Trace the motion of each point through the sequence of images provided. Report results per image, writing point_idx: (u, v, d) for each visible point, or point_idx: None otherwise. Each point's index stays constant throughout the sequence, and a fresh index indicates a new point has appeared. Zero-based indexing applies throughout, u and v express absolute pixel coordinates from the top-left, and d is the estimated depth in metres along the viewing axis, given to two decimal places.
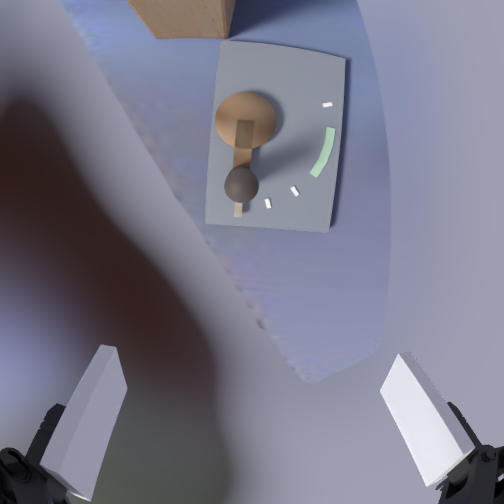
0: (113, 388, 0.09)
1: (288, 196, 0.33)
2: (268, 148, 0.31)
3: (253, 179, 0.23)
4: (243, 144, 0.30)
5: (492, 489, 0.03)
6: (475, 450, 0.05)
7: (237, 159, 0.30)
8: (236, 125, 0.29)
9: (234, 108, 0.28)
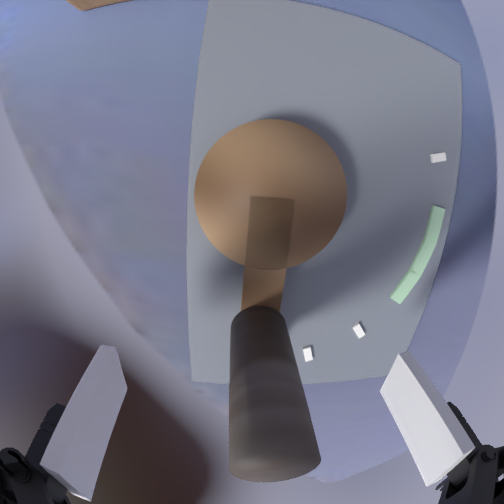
0: (113, 388, 0.09)
1: (346, 338, 0.17)
2: (319, 256, 0.15)
3: (310, 457, 0.07)
4: (266, 259, 0.13)
5: (492, 489, 0.03)
6: (475, 450, 0.05)
7: (252, 292, 0.14)
8: (250, 212, 0.12)
9: (244, 165, 0.11)
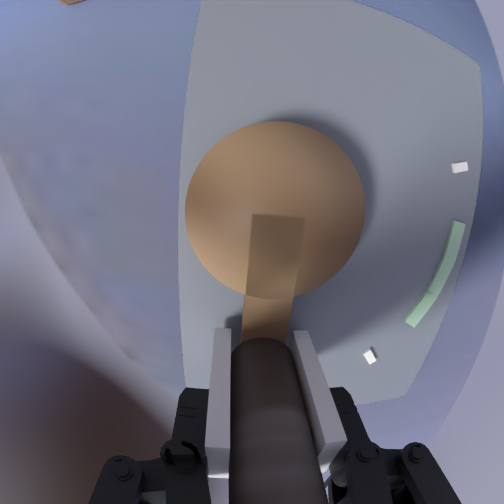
0: None
1: (356, 364, 0.15)
2: (330, 280, 0.13)
3: None
4: (270, 287, 0.11)
5: (388, 491, 0.05)
6: None
7: (253, 323, 0.12)
8: (252, 233, 0.10)
9: (244, 177, 0.10)
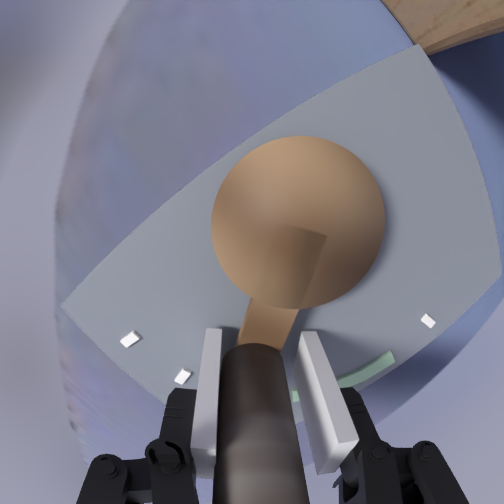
0: (220, 367, 0.12)
1: None
2: None
3: None
4: (279, 296, 0.11)
5: (397, 490, 0.05)
6: None
7: (254, 328, 0.12)
8: (274, 240, 0.10)
9: (279, 185, 0.10)
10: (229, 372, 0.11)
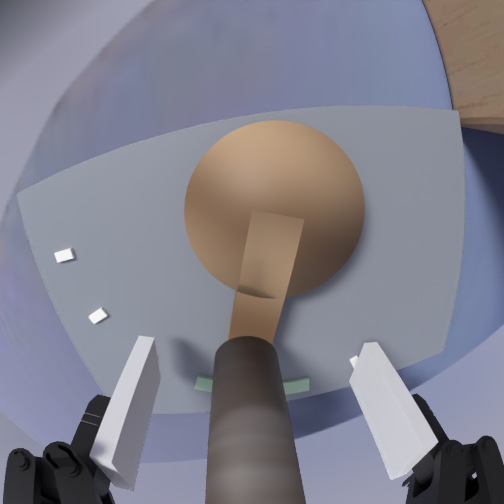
0: (152, 377, 0.10)
1: None
2: (216, 286, 0.12)
3: None
4: (262, 286, 0.11)
5: (462, 486, 0.04)
6: (441, 445, 0.06)
7: (242, 321, 0.12)
8: (249, 230, 0.10)
9: (248, 173, 0.10)
10: (220, 367, 0.11)
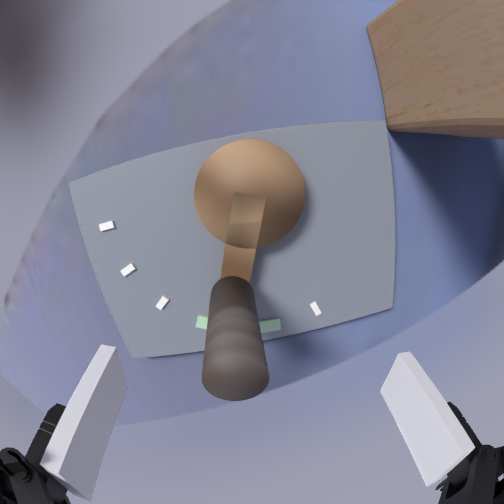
0: (113, 388, 0.09)
1: (151, 295, 0.20)
2: (212, 244, 0.19)
3: (260, 371, 0.11)
4: (242, 240, 0.18)
5: (492, 489, 0.03)
6: (475, 450, 0.05)
7: (229, 265, 0.18)
8: (233, 204, 0.17)
9: (231, 170, 0.16)
10: (214, 293, 0.17)
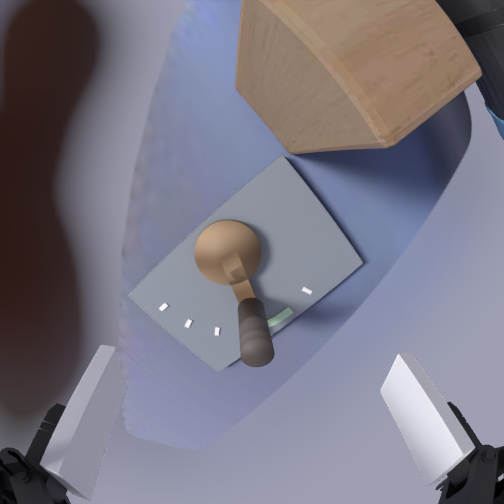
0: (113, 388, 0.09)
1: (209, 330, 0.33)
2: (225, 287, 0.31)
3: (265, 345, 0.23)
4: (237, 278, 0.30)
5: (492, 489, 0.03)
6: (475, 450, 0.05)
7: (239, 294, 0.30)
8: (222, 264, 0.29)
9: (210, 248, 0.28)
10: (238, 314, 0.29)
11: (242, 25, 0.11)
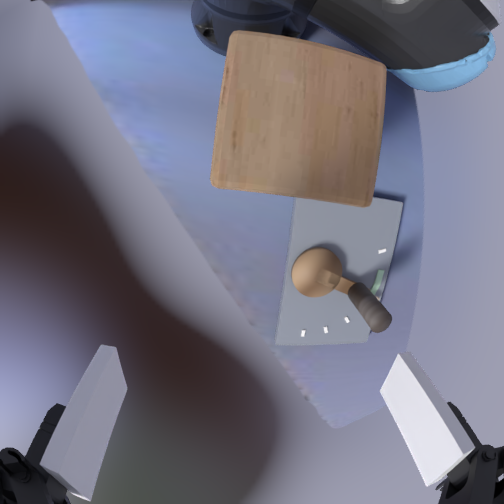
0: (113, 388, 0.09)
1: (341, 323, 0.41)
2: (331, 291, 0.39)
3: (382, 314, 0.29)
4: (335, 282, 0.37)
5: (492, 489, 0.03)
6: (475, 450, 0.05)
7: (343, 289, 0.37)
8: (319, 282, 0.36)
9: (305, 279, 0.36)
10: (352, 302, 0.36)
11: None
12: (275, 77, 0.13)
